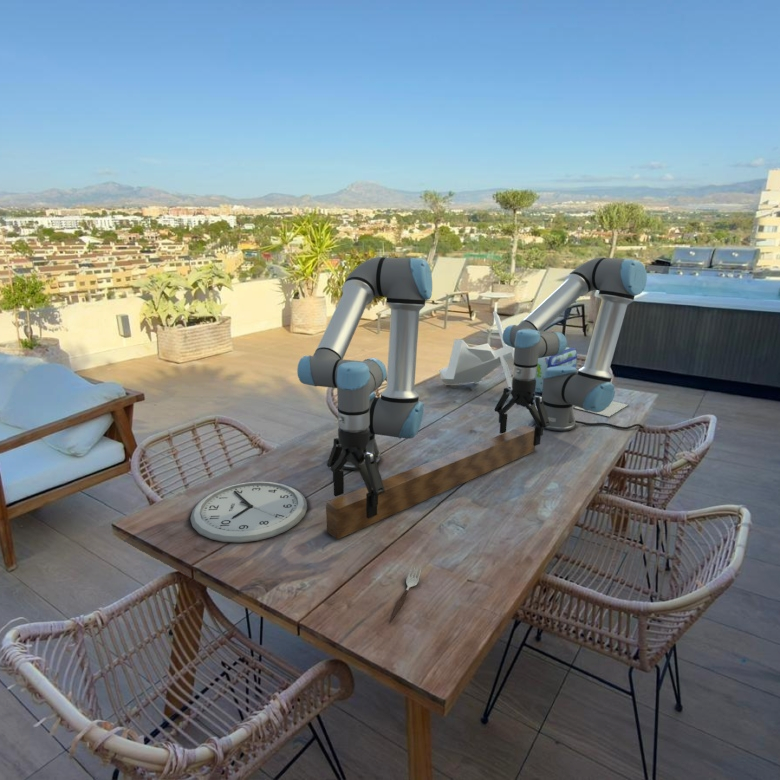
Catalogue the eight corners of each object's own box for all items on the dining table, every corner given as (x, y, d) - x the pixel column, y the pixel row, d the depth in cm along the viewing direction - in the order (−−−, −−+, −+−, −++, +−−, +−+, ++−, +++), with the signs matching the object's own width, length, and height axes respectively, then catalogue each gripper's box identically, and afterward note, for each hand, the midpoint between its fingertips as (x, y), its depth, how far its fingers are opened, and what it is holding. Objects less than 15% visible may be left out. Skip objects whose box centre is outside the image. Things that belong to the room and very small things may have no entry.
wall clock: (302, 534, 126) (174, 538, 123) (303, 540, 126) (175, 544, 124) (310, 477, 154) (206, 479, 152) (310, 482, 155) (206, 484, 152)
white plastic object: (461, 429, 252) (437, 405, 227) (444, 352, 274) (420, 323, 250) (535, 404, 240) (518, 377, 215) (510, 326, 262) (492, 293, 237)
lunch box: (548, 399, 235) (554, 353, 228) (527, 393, 242) (532, 349, 236) (576, 387, 252) (581, 345, 246) (555, 383, 259) (560, 341, 253)
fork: (385, 619, 101) (385, 611, 101) (410, 571, 116) (411, 563, 115) (398, 623, 100) (398, 614, 100) (422, 574, 115) (422, 566, 114)
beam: (523, 446, 183) (525, 424, 181) (534, 451, 180) (537, 428, 177) (326, 531, 131) (325, 501, 128) (337, 539, 127) (337, 509, 125)
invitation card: (608, 416, 214) (573, 407, 224) (608, 416, 214) (573, 408, 224) (628, 404, 229) (594, 396, 238) (628, 405, 229) (594, 397, 238)
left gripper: (311, 415, 132) (314, 490, 138) (374, 448, 114) (374, 532, 121) (336, 409, 136) (337, 481, 143) (400, 439, 119) (398, 520, 125)
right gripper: (486, 371, 176) (482, 430, 182) (551, 389, 158) (545, 453, 164) (500, 367, 180) (496, 425, 187) (565, 384, 162) (558, 446, 169)
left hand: (354, 504), depth 132 cm, fingers open, 13 cm apart
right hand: (519, 438), depth 175 cm, fingers open, 13 cm apart
